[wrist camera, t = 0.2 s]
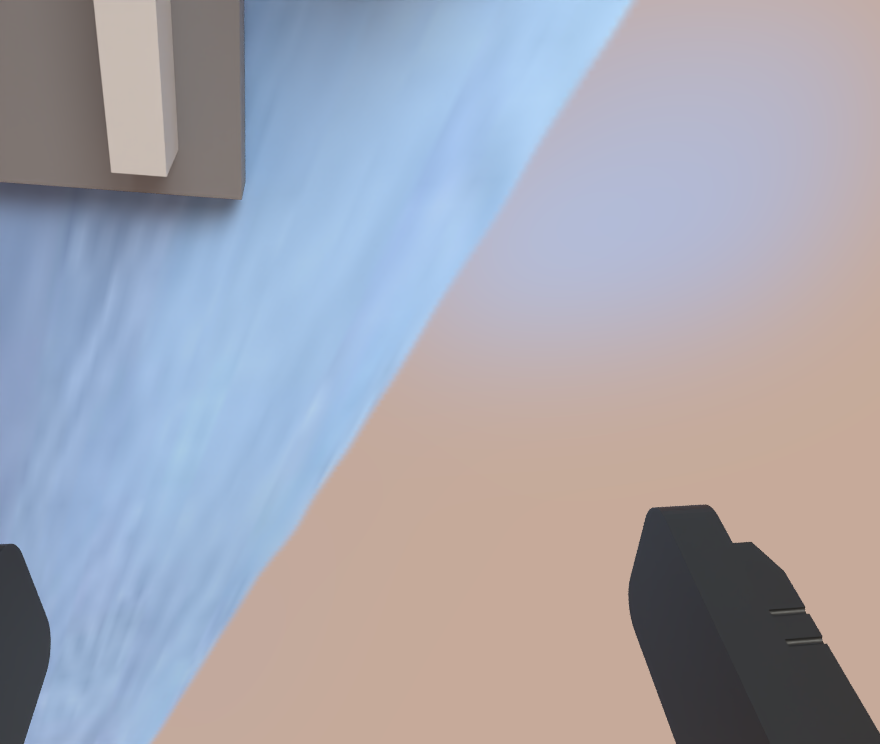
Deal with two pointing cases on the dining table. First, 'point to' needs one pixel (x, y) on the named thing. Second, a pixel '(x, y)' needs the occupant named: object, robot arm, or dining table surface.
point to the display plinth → (77, 103)
